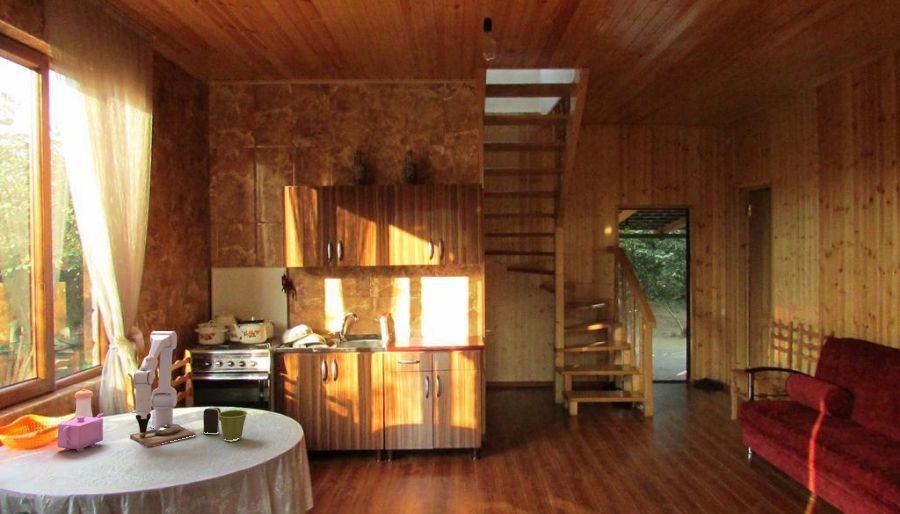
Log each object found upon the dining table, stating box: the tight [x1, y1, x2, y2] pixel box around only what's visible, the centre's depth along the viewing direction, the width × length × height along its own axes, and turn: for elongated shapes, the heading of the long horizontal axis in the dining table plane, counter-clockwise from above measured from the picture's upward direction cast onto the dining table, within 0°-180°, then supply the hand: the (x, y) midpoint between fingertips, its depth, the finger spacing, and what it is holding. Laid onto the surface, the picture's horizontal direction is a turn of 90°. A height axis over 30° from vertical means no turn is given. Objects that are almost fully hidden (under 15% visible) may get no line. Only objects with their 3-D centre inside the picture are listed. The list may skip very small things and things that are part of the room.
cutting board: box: [129, 426, 197, 448], centre depth 254 cm, size 18×20×2 cm
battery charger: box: [202, 407, 222, 433], centre depth 260 cm, size 7×4×11 cm, turn 81°
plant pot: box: [218, 409, 248, 440], centre depth 252 cm, size 12×12×11 cm
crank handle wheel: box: [138, 423, 180, 437], centre depth 254 cm, size 16×10×5 cm, turn 138°
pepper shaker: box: [74, 388, 94, 419], centre depth 260 cm, size 7×7×19 cm
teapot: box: [57, 412, 104, 453], centre depth 241 cm, size 20×10×12 cm, turn 168°
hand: (143, 432), depth 245 cm, fingers closed
